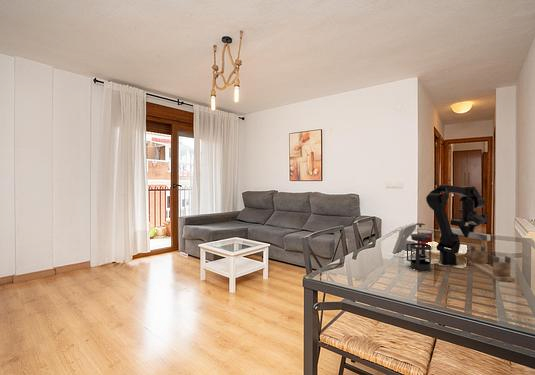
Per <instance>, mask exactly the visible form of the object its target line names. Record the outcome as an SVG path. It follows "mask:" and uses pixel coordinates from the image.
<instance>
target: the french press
mask: <svg viewBox="0 0 535 375" xmlns="http://www.w3.org/2000/svg"><path fill="white" fill-rule="evenodd" d="M415 224H416V226H418V227H419V230H420V234H418V233H412V234H411V235H410V236H409V237H411V241H413V242H415V243H412V244H409V243H408V244H407V245H406V246H407V257H406V261H407V262H410V266H409V268H410V267H411V268H412V269H411V268H410V269H411V270H413V269H415V270H414V271H416V270H418V271H417V272H422V271H428V272H431V271H432V264H431V263H432V262H431V260H432V254H431V253H432V249H431V246H430V245H428V244H424V243H421V242H424V241H426V240H427V239H429V238H430V237H431V236H430V235H426V234H421V230H422V229H421V228H422V226H425V223H423V222H417V223H415ZM418 241H420V243H418ZM408 245H410V247H411V255H410V259H409V256H408ZM418 246H420V247H418ZM425 246H426V247H425ZM412 248H413V249H415V251H416V253H414V254H412ZM426 251H428V254H426ZM428 260H429V261H428ZM430 270H431V271H430Z"/></svg>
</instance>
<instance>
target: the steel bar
mask: <svg viewBox="0 0 535 375" xmlns="http://www.w3.org/2000/svg"><path fill="white" fill-rule="evenodd" d="M451 230H452V233H454V234H458V236H461V237H462V236H463V237H465V236H464V235H463V233H462V231H461V229H460V228H455V227H451ZM491 237H492V236H491V234H486V233H482V232H476V231H473V232H472V231H468V236H467V238H471V239H477V240H481V241H486V242H490V241H491Z"/></svg>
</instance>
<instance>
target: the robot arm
mask: <svg viewBox="0 0 535 375" xmlns="http://www.w3.org/2000/svg"><path fill="white" fill-rule="evenodd" d="M450 194H457V195H458V196H459V197H461V198H459V202H461V204H460V205H461V210H459V213H461V217H459V219H457V218H455V219H451V220H450V221H449V217H448V214H447V212H446V209H445V208H446V207H447V201H448V200H449V198H450ZM425 201H426V204H427V205H428V207H429V208H430V209H432V211H433V212H434V215H435V218H436V222H437V225H438V228H439V230H440V234H441V235H440V236H439V242H438V243H437V245H436V246H435V247H436V251H438V252H439V260H440V261H441V263H440V264H442V265H443V266H457V265H458V264H457V254H459V251H460V248H461V240H460V236H459V235H458V234H454V233H452V230H451V228H452V227H451V225H452V226H454V227H455V226H456V227H458V229H461V231H462V233H463V235H464V236H463V237H464V238H466V239H467V238H468V237H467V236H468V231H472V232H475V231H474V230H475V229H476V228H477V227H479V226H481V225H485V224H486V223H487V222H488V215H487V214H478V213H477V212H478V211H477V210H475V209H478V208H483V207H484V206H485V205H486V201H485V199H484V198H483V197H482V195H480V192H479V191H478V189H477V187H476V186H475V185H461V186H460V185H459V186H458V185H452V184H451V185H450V184H439V185H438V186H437V187H436V188H434V189H432V190H431V191H430V192H429V193H428V194H427V195H426V198H425Z"/></svg>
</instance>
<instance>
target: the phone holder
mask: <svg viewBox="0 0 535 375" xmlns="http://www.w3.org/2000/svg"><path fill="white" fill-rule="evenodd" d="M416 228H417V225H416V223H414V222H413V223H409V224H405V225H403V226H402V227H401V229H400V232H399V234H398V236H397V240H396V242H395V244H394V248H393V250H392V251H393V252H392V251H391V252H392V253H393V254H396V253H399V252H401V251H402V250H405V251H407V246H406V245H407V244H408V243H409V244H412V243H416V241H414V240H408V238H409V237H411V236H410V235H411V234H413V232H414V231H415V230H416ZM408 251H411V247H410V245H408ZM414 251H416V249H413V248H412V252H414Z"/></svg>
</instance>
